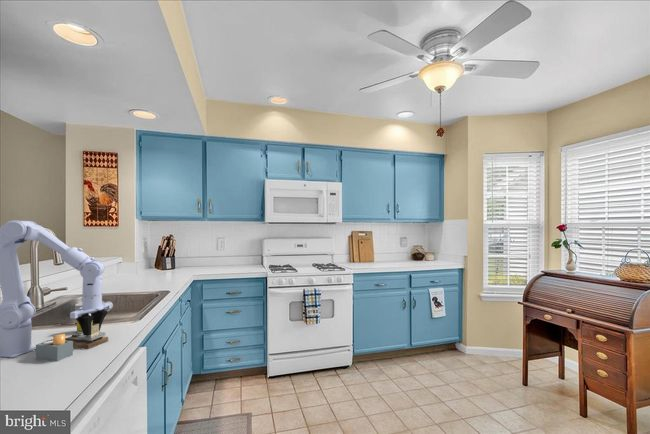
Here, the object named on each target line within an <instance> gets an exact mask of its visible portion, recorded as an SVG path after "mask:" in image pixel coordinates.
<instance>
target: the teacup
mask: <svg viewBox="0 0 650 434" xmlns="http://www.w3.org/2000/svg"><path fill="white" fill-rule="evenodd" d="M103 303H112V307H111V308H107V309H106V310H107V313H108V312H110V311H111V310H112V309H113V307H114V304H113V302H112V301H104V300H102V304H103ZM81 307H82V302H79V303H76V304H74V311H76V310H79V308H81Z"/></svg>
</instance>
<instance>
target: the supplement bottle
mask: <svg viewBox="0 0 650 434" xmlns="http://www.w3.org/2000/svg"><path fill="white" fill-rule="evenodd" d="M81 308H82V307H81ZM81 308H79V309H81ZM89 315H90V316H91V314H89ZM92 323H93V321H92ZM76 334H78V335H83V332H82V328H81V326H80V324H79V322H78V321H77V320H76Z"/></svg>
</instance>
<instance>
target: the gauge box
mask: <svg viewBox="0 0 650 434" xmlns="http://www.w3.org/2000/svg"><path fill="white" fill-rule="evenodd" d="M35 347H36V349H35V360H43V361H52V362H59V361H62V360H64V359H67V358H69V357H71V356H73V355H74V353H73V352H74V348H73V341H66V340H65V343H64V344H61V345H59V346H56V345H53V338H52V339H48V340H44V341H42V342H40V343H37V344H35Z"/></svg>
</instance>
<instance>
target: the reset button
mask: <svg viewBox="0 0 650 434" xmlns="http://www.w3.org/2000/svg"><path fill="white" fill-rule="evenodd" d="M65 338H66V334H65V333H60V334H59V333H58V334H55V335H53V336H52V339H53V345H56V346H59V345H61V344H64V343H65Z"/></svg>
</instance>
